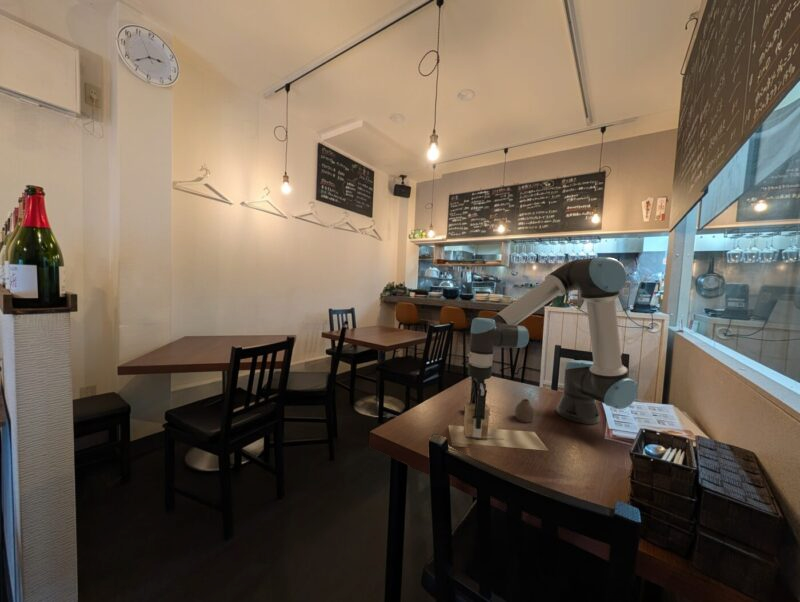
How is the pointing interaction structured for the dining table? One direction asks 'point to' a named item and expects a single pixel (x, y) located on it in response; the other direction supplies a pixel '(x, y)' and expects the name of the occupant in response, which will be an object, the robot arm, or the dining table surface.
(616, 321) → the robot arm
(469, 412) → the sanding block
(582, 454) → the dining table surface
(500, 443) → the board
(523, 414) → the vase
